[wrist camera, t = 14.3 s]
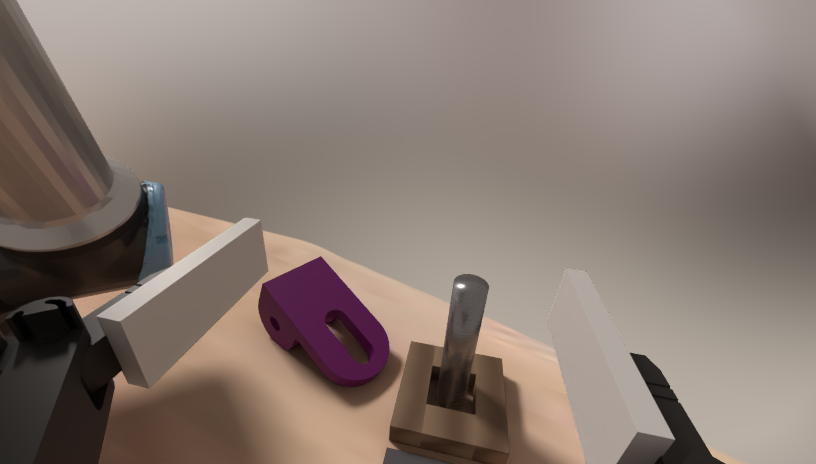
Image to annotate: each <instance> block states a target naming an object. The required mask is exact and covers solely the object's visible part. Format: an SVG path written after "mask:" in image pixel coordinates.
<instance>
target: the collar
mask: <svg viewBox="0 0 816 464" xmlns="http://www.w3.org/2000/svg"><path fill="white" fill-rule="evenodd" d="M443 349H444V347H438V346H433V345H428V344H423V343H418V342H413V341H411V345H410V349H409V353H408V356H407V360H406V364H405V368H404V372H403V376H402V380H401V384H400V388H399V392H398V396H397V400H396V404H395V408H394V412H393V416H392V420H391V424H390V435H389V440H390V441H394V442H398V443H402V444H406V445H411V446H415V447H419V448H423V449H427V450H431V451H436V452H440V453H444V454H448V455H452V456H456V457H461V458H465V459H469V460H473V461H477V462H481V463H486V464H506V462H507V459H508V456H509V443H508V430H507V417H506V404H505V392H504V379H503V366H502V359H500V358H495V357H490V356H485V355H480V354H475V355H474V360H473V364H472V369H471V374H470V378H469V383H468V387H470V388H473V410H472V414H469V413H465V412H460V411H456V410H451V409H447V408H442V407H438V406H433V405H429V404H427V398H428V392H429V386H430V379H432V380H437V381H439V375H440V368H441V362H442V355H443Z"/></svg>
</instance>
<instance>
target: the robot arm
mask: <svg viewBox="0 0 816 464" xmlns="http://www.w3.org/2000/svg"><path fill="white" fill-rule="evenodd" d="M267 272H268V265H267V259H266V252H265V245H264V238H263V232H262V225H261V220H257V219H251V218H244V219H242V220H241V221H239V222H238V223H236V224H235V225H233V226H232V227H230V228H229V229H227V230H226V231H224V232H223V233H221V234H220V235H218V236H216V237H215V238H213V239H212V240H210V241H209V242H207V243H206V244H204V245H203V246H201V247H200V248H198V249H197V250H195V251H194V252H192V253H191V254H189V255H188V256H186V257H185V258H183V259H182V260H180V261H179V262H177V263H176V264H174V265H173V250H172V240H171V231H170V222H169V215H168V207H167V201H166V195H165V190H164V187H163V186H162V185H161V184H160V183H158V182H150V181H142V182H141V183H140V182H139V180H138V178H137V177H136V175H135V173H134V172H133V171H132V170H131V169H130V168H129V167H127V166H126V165H125V164H123V163H122V162H120V161H118V160H116V159H114V158H112V157H109V156H106V155H103V153H102V151H101V150H100V148H99V146H98V144H97V142H96V141H95V139H94V137H93V136H92V134H91V132H90V130H89V129H88V127H87V125H86V123H85V121H84V119H83V118H82V116H81V114H80V112H79V111H78V109H77V107H76V105H75V103H74V102H73V100H72V98H71V96H70V95H69V93H68V91H67V89H66V87H65V86H64V84H63V82H62V80H61V79H60V77H59V75H58V73H57V72H56V70H55V68H54V66H53V65H52V63H51V61H50V59H49V57H48V56H47V54H46V52H45V50H44V48H43V47H42V45H41V43H40V42H39V40H38V38H37V36H36V34H35V32H34V31H33V29H32V27H31V25H30V24H29V22H28V20H27V18H26V17H25V15H24V13H23V11H22V10H21V8H20V6H19V4H18V2H17V1H16V0H0V464H98V461H99V457H100V452H101V448H102V443H103V439H104V434H105V430H106V425H107V421H108V416H109V412H110V407H111V402H112V398H113V393H114V389H115V385H114V381H113V379H112V378H113V377H115V376H116V375H117V374H118V373H119V372H120V371H122V372H123V374H124V376H125V378H126V380H127V382H128V384H133V385H137V386H141V387H145V388H149V389H150V388H151V387H152V386H153V385H154V384H155V383H156V382H157V381H158V380H159V379H160V378H161V377H162V376H163V375H164V374H165V373H166V372H167V371H168V370H169V369H170V368H171V367H172V366H173V365H174V364H175V363H176V362H177V361H178V360H179V359H180V358H181V357H182V356H183V355H184V354H185V353H186V352H187V351H188V350H189V349H190V348H191V347H192V346H193V345H194V344H195V343H196V342H197V341H198V340H199V339H200V338H201V337H202V336H203V335H204V334H205V333H206V332H207V331H208V330H209V329H210V328H211V327H212V326H213V325H214V324H215V323H216V322H217V321H218V320H219V319H220V318H221V317H222V316H223V315H224V314H225V313H226V312H227V311H228V310H229V309H230V308H231V307H232V306H233V305H234V304H235V303H237V302H238V301H239V300H240V299H241V298H242V297H243V296H244V295H245V294H246V293H247V292H248V291H249V290H250V289H251V288H252V287H253V286H254V285H255V284H256V283H257V282H258V281H259V280H260V279H261V278H262V277H263V276H264V275H265V274H266V273H267ZM124 289H127V290H126V291H125V293H121V294H120V295H118V296H117V297H115V298H113V299H112V300H110V301H109V302H107V303H106V304H104V305H103V306H101V307H100V308H98V309H96V310H95V311H93V312H92V313H90V314H89V315H87V316H86V317H84V318H81V316H80V314H79V312H78V310H77V308H76V306H75V304H74V302H73V300H72V299H77V298H82V297H87V296H93V295H98V294H103V293H108V292H113V291H118V290H124ZM547 322H548V326H549V330H550V333H551V337H552V340H553V344H554V348H555V351H556V355H557V359H558V362H559V366H560V370H561V373H562V377H563V380H564V384H565V388H566V391H567V395H568V399H569V402H570V406H571V409H572V413H573V417H574V420H575V424H576V428H577V431H578V435H579V439H580V442H581V446H582V449H583V453H584V457H585V460H586V464H725V463H723V462H721V461H720V460H718V459H716V458H714V457H713V456H712V455H711V453H710V452H709V450H708V448H707V447H706V445H705V443H704V442H703V440H702V438H701V437H700V435H699V433H698V432H697V430H696V428H695V427H694V425H693V423H692V422H691V420H690V419H689V417H688V416H687V413H686V412H685V411H684V409H683V407H682V405H681V404H680V403H678V399H677V397H676V395H675V394H674V392H673V390H672V389H670V385H669V384H668V382H667V380H666V379H665V377H664V375H663V374H662V372H661V370H660V369H659V368H658V367H656V366H655V365H654V364H653V363H652V362H651V361H650V360H649V359H648V358H647V357H646V356H645V355H639V354H634V353H629V351H628V349H627V348H626V346H625V344H624V342H623V340H622V338H621V336H620V334H619V332H618V331H617V329H616V327H615V325H614V323H613V321H612V319H611V317H610V315H609V314H608V312H607V310H606V308H605V306H604V304H603V302H602V300H601V299H600V297H599V295H598V293H597V291H596V289H595V287H594V285H593V283H592V281H591V280H590V278H589V276H588V274H587V272H586V271H581V270H574V269H568V268H566V269H565V272H564V275H563V278H562V280H561V283H560V286H559V289H558V292H557V294H556V297H555V300H554V303H553V306H552V308H551V311H550V314H549V317H548V319H547Z"/></svg>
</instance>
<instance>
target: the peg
mask: <svg viewBox="0 0 816 464" xmlns="http://www.w3.org/2000/svg"><path fill="white" fill-rule="evenodd" d="M488 290H489V285H488V283H487V282H486V281H485V280H484V279H482V278H480V277H478V276H476V275H471V274H463V275H459V276H457V277H456V278H455V279H454V284H453V291H452V297H451V303H450V310H449V316H448V323H447V329H446V336H445V342H444V349H443V355H442V362H441V368H440V375H439V381H438V388H437V394H436V401H437V403H438V405H439V406H440V407H442V408H447V409H451V410H456V411H459V410H461V409H462V407H463V406H464V402H465V397H466V392H467V388H468V383H469V378H470V374H471V369H472V364H473V360H474V355H475V350H476V346H477V341H478V336H479V332H480V327H481V322H482V318H483V313H484V308H485V304H486V299H487V294H488Z"/></svg>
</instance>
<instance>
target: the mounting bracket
mask: <svg viewBox="0 0 816 464" xmlns="http://www.w3.org/2000/svg"><path fill="white" fill-rule="evenodd" d="M258 309H259V314H260V318H261V320H262V323H263V325H264V327H265V329H266V331H267V332H268V334H269V335H270V337H271V338H272V339H273V340H274V341H275V342H276V343H277V344H279V345H280V346H281V347H282V348H283V349H286V350H288V349H290V348H292V347H293V346H295V345H296V344H298V343H300V344H301V345H302V347H303V348H304V349H305V351H306V352H307V353H308V354H309V356H310V357H311V358H312V360H313V361H314V362H315V363H316V365H317V366H318V367H319V369H320V370H321V371H322V372H323V374H324V375H325V376H326V377H327V378H329V379H330V380H331V381H333V382H335V383H337V384H340V385H343V386H350V387H352V386H360V385H363V384H365V383H367V382H369V381H370V380H371V379H373V378H374V377H375V376H376V375H377V374H378V373H379V371H380V370H381V369H382V368H383V367H384V365H385V363H386V361H387V359H388V355H389V340H388V337H387V334H386V332H385V330H384V328H383V327H382V325H381V324H380V323H379V322H378V321H377V320H376V318H375V317H374V316H373V315H372V314H371V313H370V312H369V310H368V309H367V308H366V307H365V306H364V305H363V304H362V302H361V301H360V300H359V299H358V298H357V297H356V296H355V295H354V293H353V292H352V291H351V290H350V289H349V288H348V287H347V285H346V284H345V283H344V282H343V281H342V280H341V279H340V278H339V276H338V275H337V274H336V273H335V272H334V271H333V270H332V268H331V267H330V266H329V265H328V264H327V263H326V262H325V260H324V259H323V258H322V257H319V258H317V259H314V260H312V261H310V262H308V263H306V264H304V265H302V266H299V267H297V268H295V269H293V270H291V271H289V272H287V273H285V274H282V275H280V276H278V277H276V278H274V279H272V280H270V281H268V282H265V283H263V284H262V289H261V293H260V298H259V303H258ZM335 318H337V319H339V320H340V321H341V322H342V323H343V324H344V325H345V326H346V328H347V329H348V330H349V331H350V332H351V334H352V335H353V336H354V337H355V338H356V340H357V341H358V342H359V343H360V344H361V346H362V347H363V348H364V349H365V350H366V352H367V353H368V355H369V363H367V364H360V363H358V362H356V361H355V360H354V359H353V358H352V356H351V355H350V354H349V353H348V352H347V350H346V349H345V348H344V347H343V345H342V344H341V343H340V342H339V341H338V339H337V338H336V337H335V336H334V335H333V333H332V332H331V331H330V330H329V328H328V327H327V326H326V324H325V322H326V323H328V322H331V321H332V320H334V319H335Z"/></svg>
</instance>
